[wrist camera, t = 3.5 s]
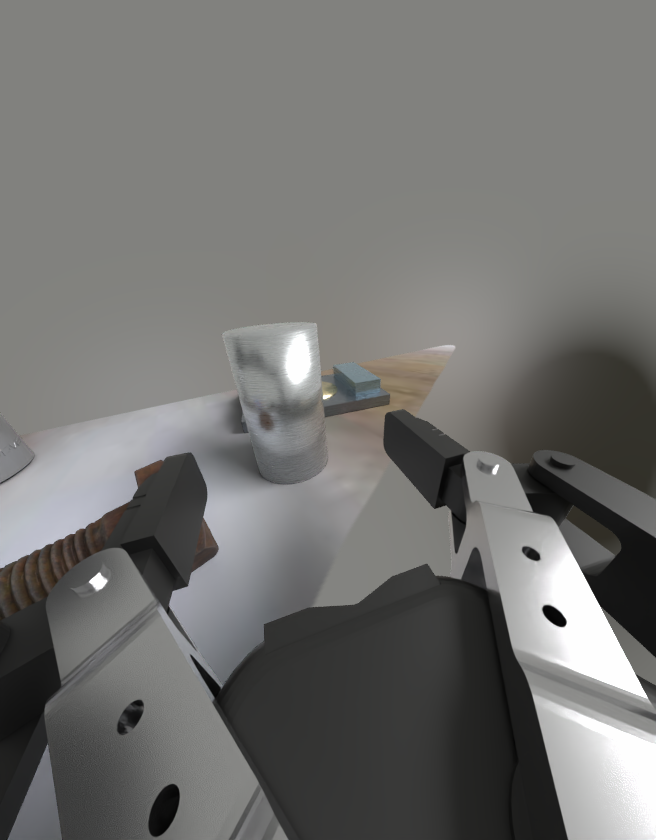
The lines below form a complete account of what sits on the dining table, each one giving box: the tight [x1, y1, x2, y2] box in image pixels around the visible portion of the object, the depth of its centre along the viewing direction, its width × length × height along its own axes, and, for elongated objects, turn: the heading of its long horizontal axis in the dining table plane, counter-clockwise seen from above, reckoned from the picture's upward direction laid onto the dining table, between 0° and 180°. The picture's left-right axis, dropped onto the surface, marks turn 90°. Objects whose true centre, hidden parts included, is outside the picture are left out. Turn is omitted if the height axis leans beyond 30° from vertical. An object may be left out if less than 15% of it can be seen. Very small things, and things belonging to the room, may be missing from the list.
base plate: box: [241, 362, 390, 433], centre depth 28 cm, size 16×10×3 cm, turn 107°
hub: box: [222, 322, 328, 484], centre depth 17 cm, size 6×6×10 cm
